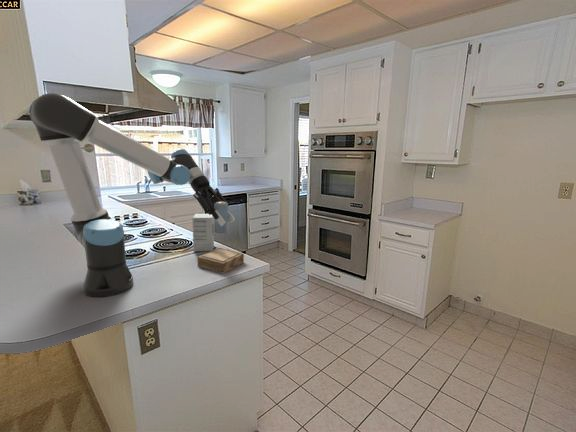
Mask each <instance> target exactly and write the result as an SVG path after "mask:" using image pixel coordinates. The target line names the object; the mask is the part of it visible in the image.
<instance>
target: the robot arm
mask: <svg viewBox="0 0 576 432" xmlns="http://www.w3.org/2000/svg"><path fill="white" fill-rule="evenodd" d="M28 112H29V118H30V120H31V122H32V123H33V125H34V126H35V128H36V131H37V134H38V137H39V139H40V141H41V142H42V143H43V144H45V145H47V146H48V147H49V151H50V152H51V155H52V158H53V160H54V163H55V166H56V169H57V171H58V174H59V176H60V179H61V182H62V184H63V188H64V190H65V192H66V195H67V198H68V201H69V203H70V207H71V209H72V212H73V215H72V216H71V218H70V222H71V224H72V227H73V229H74V236H75V238H76V240H77V241H78V242H79V244H81V246H82V247H83V249H84V251H85V258H86V260H85V261H86V266H87V270H86V274H85V276H84V277H85V278H84V282H83V293H84V295H86V296H89V297H94V298H100V297H101V298H102V297H109V296H115V295H119V294H121V293H124V292H125V291H128V290H129V289H131V288H132V287H133V285H134V278H133V273H132V272H131V271H130V269H129V266H128V265H127V259H126V258H127V257H126V247H125V244H126V243H125V231H124V230H125V229H124V227H123V224H122V223H121V222H119V221H118V220H115V219H114V220H113V219H110V216H109V212H108V210H107V209H106V208H104V207H102V206H101V203H100V199H99V197H98V193H97V190H96V189H95V185H94V182H93V178H92V176H91V173H90V169H89V167H88V164H87V160H86V157H85V155H84V152H83V150H82V146H81V142H89V143H91V144H93V145H95V146H97V147H99V148H101V149H103V150H104V151H106V152H109V153H111V154H113V155H115V156H117V157H119V158H122V159H123V160H125V161H127V162H129V163H131V164H134V165H136V166H138V167H139V168H141V169H142V170H143V169H144V170H145V171H147V175H148V177H149V179H150V181H152V183H153V184H154V185H155V184H160V183H163V182H168V183H172V184H173V185H174V184H175V185H176V186H183V185H186V184H187V183H188V184H189V185H190V187H191V189H192V191H194V193H193V197H194V198H195V199H196V201H197V202H198V204H199V205H200V206H201V208H202V209H203V211H204V213H205V214H209V215H211V214H212V216H213V217H214V218H215V219H216V220H217V222H218V223H219V224H220V226H223V225H224V224H225V223H226V222H225V220H224V219H223V218H222V216H221V215H220V214H219V212H218V211H217V210H215V209H214V204H215V203H216V202H219V201H223V202H226V203H228V207H229V206H230V204H229V202H228V201H227V200H226V199H225V197H224V196H223V194H222V193H221V192H220V190H219V188H217V187H216V188H213V187H212V186H211V185H210V183H211V182H210V180H209V179H208V178H207V176H205V173H204V172H203V171H202V169H201V168H200V167H199V165H198V164H197V163H196V162H195V160H194V158H193V157H192V155H191V154H190V153H189V152H188V151H187V150H186V149H185V148H178V149H176V150H175V151H173V152H172V154H171V155H170V158H168V157H166V156H165V155H163V154H161V153H159V152H157V151H156V150H153V149H152V148H150V147H148V146H146V145H144V144H143V143H141V142H139V141H137V140H135V139H134V138H132V137H130V136H129V135H127V134H125V133H123V132H121V131H119V130H117V129H116V128H114V127H113V126H111V125H109V124H107V123H105V122H103V121H102V120H100V119H99V117H98V114H95V113H94V112H92V111H90V110H88V109H87V108H85V107H84V106H82V105H81V104H79V103H77V102H76V101H74V100H73V99H71V98H70V97H67V96H66V95H63V94H61V93H54V92H50V93H49V92H48V93H44V94H42V95H40V96H39V97H37V98H36V99H35V100H33V101H32V103H31V104H30V106H29V111H28ZM212 201H213V202H214V204H213V202H212ZM235 220H236V218H235V217H234V215H233V214H232V212H231V211H230V209H229V208H228V223H229V224H232V223H233V222H234V221H235Z"/></svg>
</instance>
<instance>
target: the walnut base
mask: <svg viewBox="0 0 576 432" xmlns="http://www.w3.org/2000/svg"><path fill="white" fill-rule="evenodd" d="M244 257H245V254H244V253H243V252H238V251H235V250H230V249H225V248H221V247H218V248H215V249H213V251H207V252H205V253H203V254H201V255H199V256H197V267H202V268H204V269H208V270H212V271H215V272H218V273H223V274H224V273H226V272H228V271H230V270H232V269H233V268H235V267H237V266H239V265H241V264H243V263H244V261H245V258H244Z"/></svg>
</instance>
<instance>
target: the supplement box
mask: <svg viewBox="0 0 576 432" xmlns="http://www.w3.org/2000/svg"><path fill="white" fill-rule="evenodd" d="M191 219H192V242H193V243H192V245H193V252H210V251H213V250H214V247H215V235H214V233H215V220H214V217H213V216H212V214H211V215H209V213H208V214H207V213H194V215H193V217H192V218H191Z"/></svg>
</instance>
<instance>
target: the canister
mask: <svg viewBox="0 0 576 432" xmlns="http://www.w3.org/2000/svg"><path fill="white" fill-rule="evenodd" d="M228 204H229V202H228V203H226V202H223V201H219V202H216V203H215V202H214V204H213V206H214V209H215V210H217V211H218V212H219V214H220V215H221V216H222V218H223V219H224V220H225V222H226V223H225V224H224V225H223V226H220V224H219V223H218V222H217V220H216V219H215V218H214V233H217V234H225V233H229V220H228V209H229V206H228Z"/></svg>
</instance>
